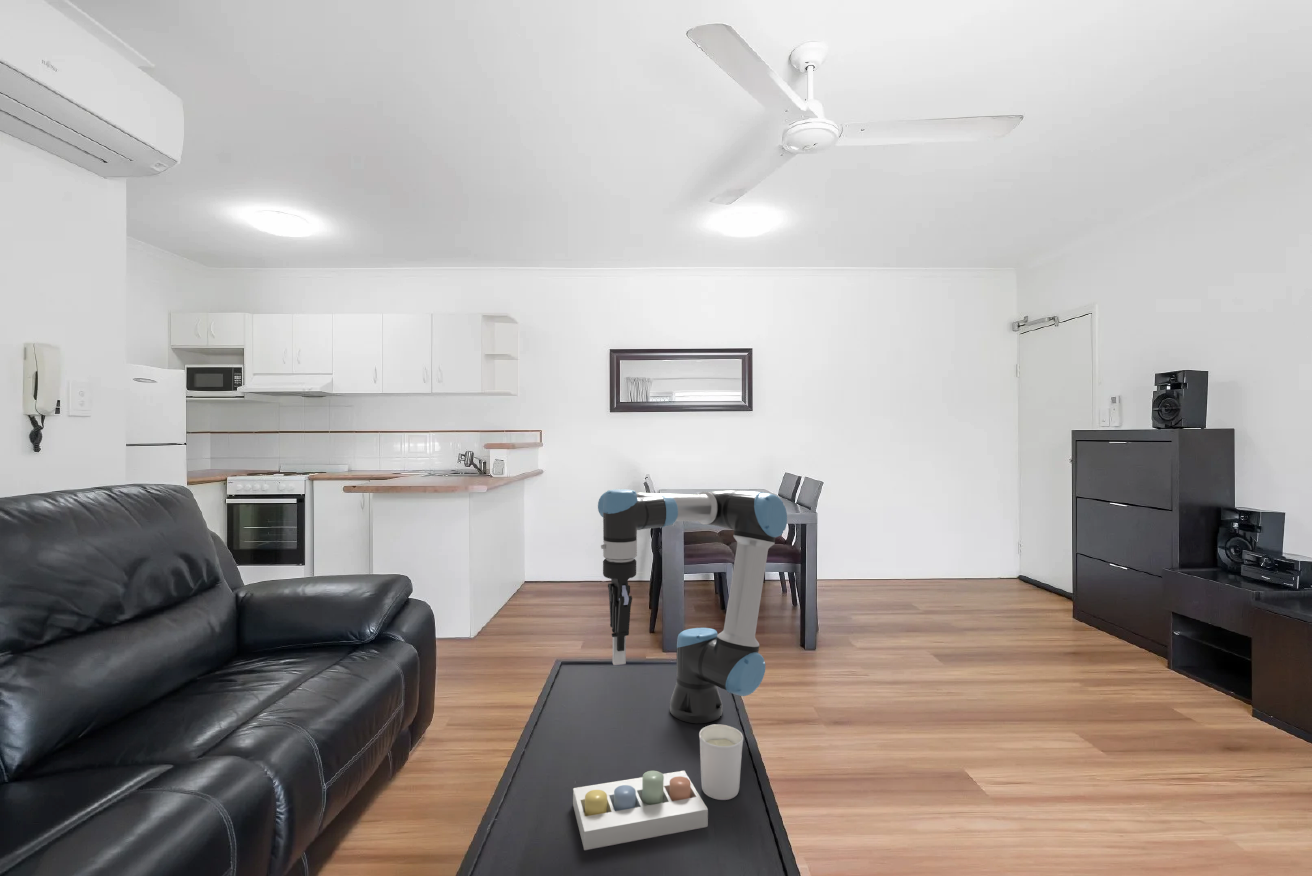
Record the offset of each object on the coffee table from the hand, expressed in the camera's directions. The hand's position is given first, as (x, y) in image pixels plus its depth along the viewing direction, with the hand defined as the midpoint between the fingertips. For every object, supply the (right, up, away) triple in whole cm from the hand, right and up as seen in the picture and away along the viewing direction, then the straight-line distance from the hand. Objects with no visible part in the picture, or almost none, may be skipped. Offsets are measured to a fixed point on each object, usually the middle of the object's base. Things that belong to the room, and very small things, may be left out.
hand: (619, 663), depth 128 cm
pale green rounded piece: (+8, -24, -10) cm, 27 cm away
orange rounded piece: (+13, -27, -8) cm, 31 cm away
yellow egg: (-4, -26, -13) cm, 30 cm away
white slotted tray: (+5, -27, -11) cm, 30 cm away
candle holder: (+23, -28, -1) cm, 36 cm away
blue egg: (+2, -26, -11) cm, 29 cm away
